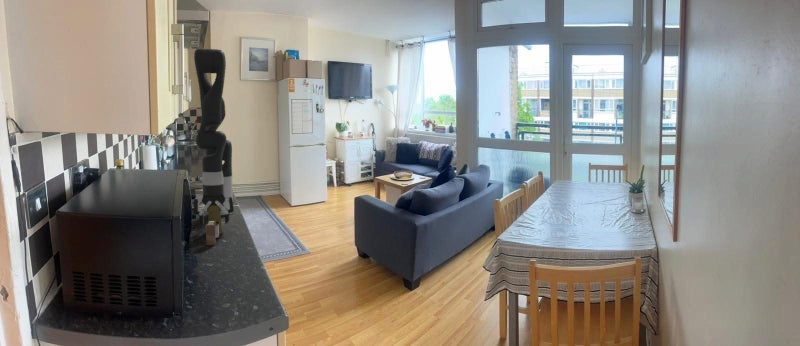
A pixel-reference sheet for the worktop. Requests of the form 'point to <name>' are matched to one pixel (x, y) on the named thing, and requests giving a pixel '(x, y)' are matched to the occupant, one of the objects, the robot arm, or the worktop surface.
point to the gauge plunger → (216, 228)
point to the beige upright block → (210, 233)
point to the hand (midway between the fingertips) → (214, 223)
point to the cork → (215, 215)
